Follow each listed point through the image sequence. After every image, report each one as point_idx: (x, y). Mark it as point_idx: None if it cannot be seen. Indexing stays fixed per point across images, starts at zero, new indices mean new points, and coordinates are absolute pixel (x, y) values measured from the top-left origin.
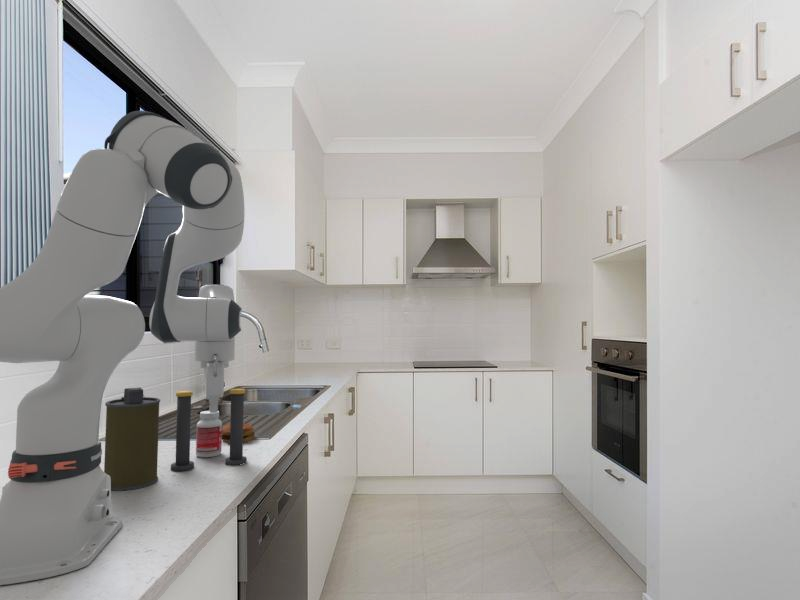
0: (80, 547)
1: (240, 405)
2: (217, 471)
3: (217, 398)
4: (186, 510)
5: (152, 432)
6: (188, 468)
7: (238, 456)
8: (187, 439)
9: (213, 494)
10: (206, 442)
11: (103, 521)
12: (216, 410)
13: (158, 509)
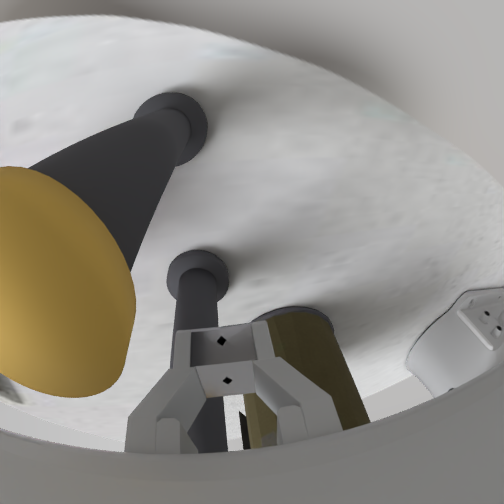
0: (500, 304)
1: (136, 168)
2: (258, 179)
3: (327, 400)
4: (468, 225)
5: (352, 405)
6: (221, 261)
7: (188, 121)
8: (210, 325)
9: (431, 184)
10: None
11: (468, 311)
12: (268, 330)
13: (444, 265)
